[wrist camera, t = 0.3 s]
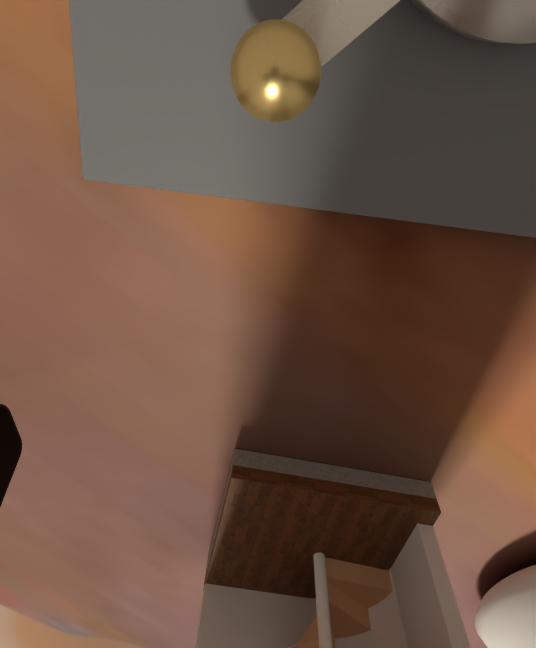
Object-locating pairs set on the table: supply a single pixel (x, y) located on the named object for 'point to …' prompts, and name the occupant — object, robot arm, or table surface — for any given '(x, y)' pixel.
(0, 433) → the robot arm
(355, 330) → the table surface
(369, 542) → the display case
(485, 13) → the disc crank with handle
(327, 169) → the stand base
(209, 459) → the table surface
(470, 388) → the table surface
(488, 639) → the flower in vase
